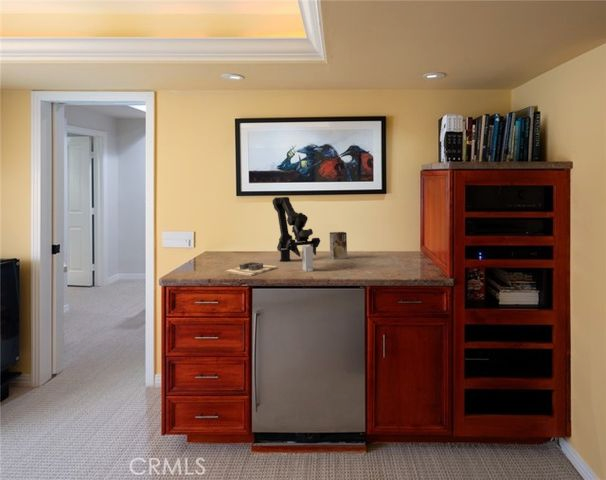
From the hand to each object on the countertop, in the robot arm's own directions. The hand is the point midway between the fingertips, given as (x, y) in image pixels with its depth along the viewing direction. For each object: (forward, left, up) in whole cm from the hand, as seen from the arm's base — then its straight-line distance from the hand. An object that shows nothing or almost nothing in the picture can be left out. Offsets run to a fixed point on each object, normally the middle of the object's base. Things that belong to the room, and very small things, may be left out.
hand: (307, 255), depth 257 cm
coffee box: (-38, +16, -8) cm, 42 cm away
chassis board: (0, -31, -8) cm, 32 cm away
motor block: (0, 0, -8) cm, 8 cm away
